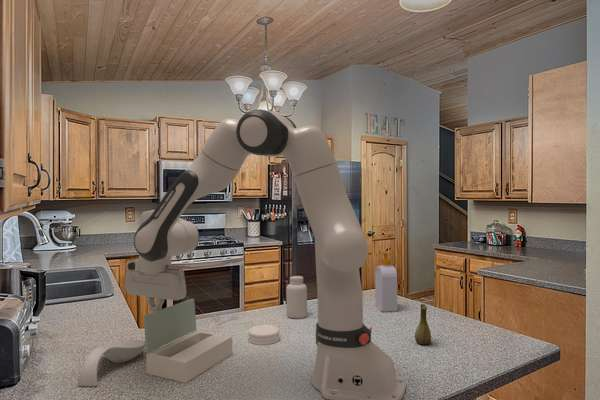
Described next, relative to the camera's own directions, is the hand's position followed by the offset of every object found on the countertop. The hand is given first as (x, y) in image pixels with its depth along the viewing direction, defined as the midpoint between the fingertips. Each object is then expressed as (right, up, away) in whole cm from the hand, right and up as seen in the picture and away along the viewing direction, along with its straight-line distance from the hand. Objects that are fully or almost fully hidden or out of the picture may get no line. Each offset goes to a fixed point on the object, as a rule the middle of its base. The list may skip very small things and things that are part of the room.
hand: (155, 312), depth 113 cm
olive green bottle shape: (+80, -12, +8) cm, 81 cm away
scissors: (+12, -13, +29) cm, 34 cm away
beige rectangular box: (+11, -12, -5) cm, 17 cm away
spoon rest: (-9, -13, -7) cm, 17 cm away
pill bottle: (+41, -12, +38) cm, 57 cm away
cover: (+6, -2, -3) cm, 7 cm away
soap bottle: (+77, -12, +46) cm, 90 cm away
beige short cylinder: (+30, -13, +13) cm, 35 cm away
